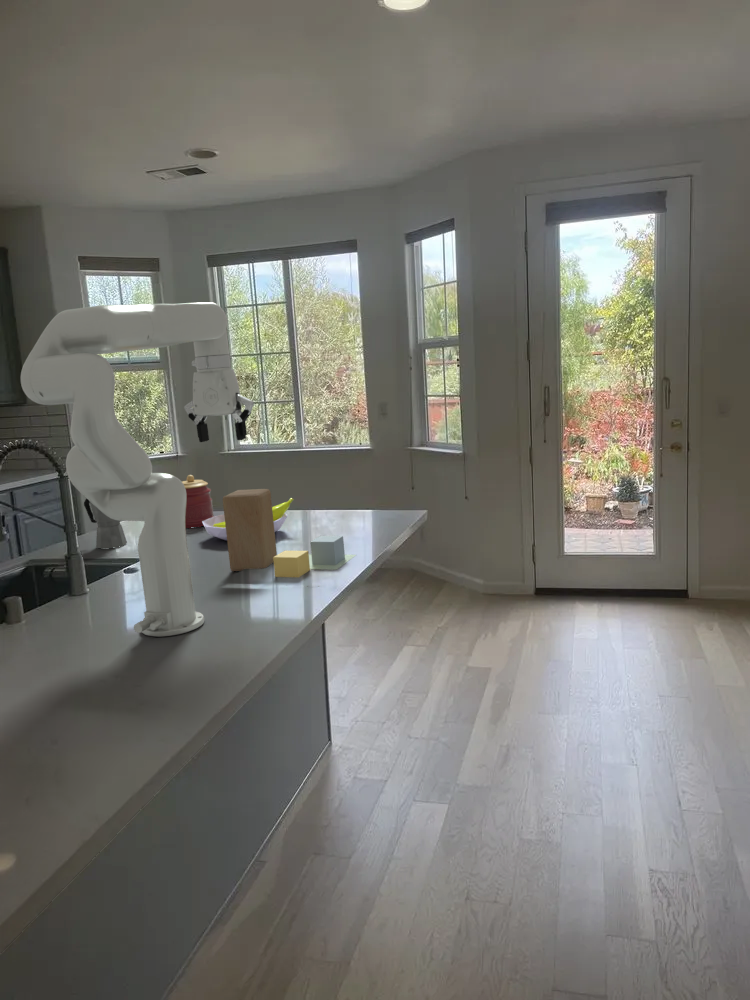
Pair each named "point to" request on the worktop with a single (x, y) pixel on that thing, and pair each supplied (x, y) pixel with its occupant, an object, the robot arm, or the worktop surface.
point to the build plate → (330, 567)
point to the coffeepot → (105, 528)
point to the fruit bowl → (218, 528)
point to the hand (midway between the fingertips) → (222, 440)
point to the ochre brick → (291, 563)
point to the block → (249, 529)
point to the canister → (197, 502)
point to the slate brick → (327, 550)
